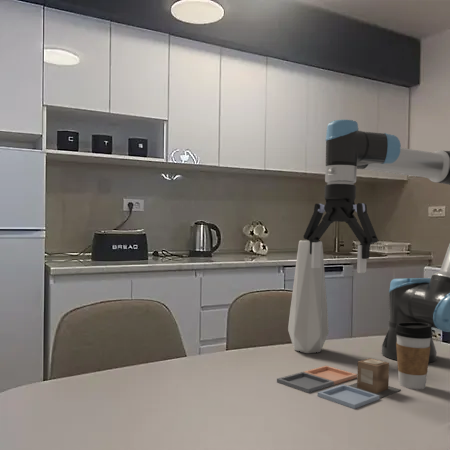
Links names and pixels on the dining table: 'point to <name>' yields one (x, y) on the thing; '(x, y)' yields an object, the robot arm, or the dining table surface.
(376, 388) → the letter block
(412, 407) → the dining table surface
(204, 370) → the dining table surface
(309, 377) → the tray charcoal
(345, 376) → the tray terracotta
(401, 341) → the coffee cup
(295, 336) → the vase
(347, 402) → the tray slate
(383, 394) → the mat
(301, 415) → the dining table surface
